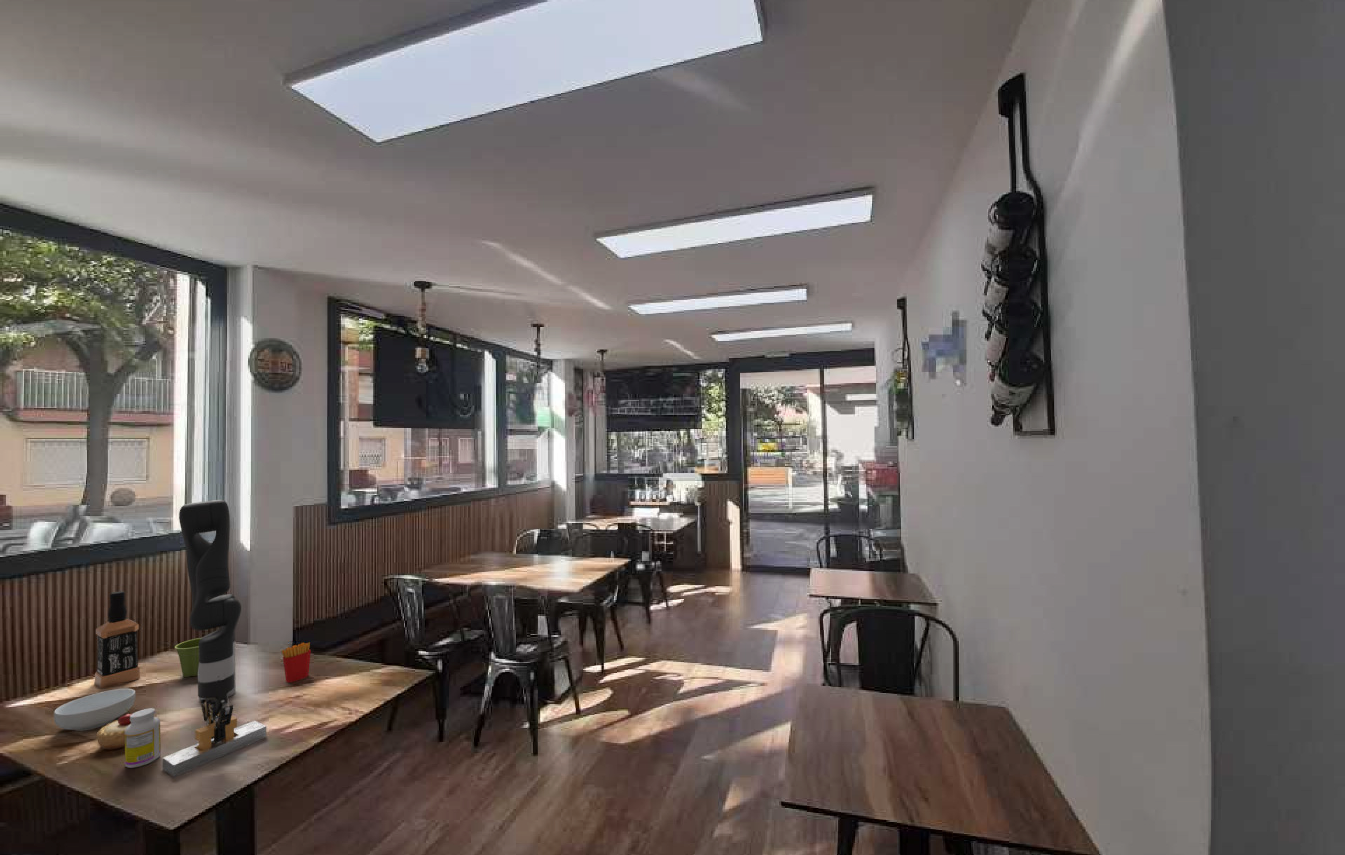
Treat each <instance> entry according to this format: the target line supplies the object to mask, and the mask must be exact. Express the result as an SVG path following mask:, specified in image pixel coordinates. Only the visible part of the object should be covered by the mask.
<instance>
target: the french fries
mask: <svg viewBox="0 0 1345 855" xmlns="http://www.w3.org/2000/svg"><path fill="white" fill-rule="evenodd" d="M310 645H311V642H307V643H305V642H300V643H299V644H298V645H297V644H295V645H292V646H291V647H289V646H288V647H286V649H282V650H281V653H282V661H283V669H284V676H285V682H287V683H293V682H297V681H300V680H302V679H305V678H307V677H308V676H309V673H310V664H311V663H310V662H311V652H312V651H311V649H310V647H311V646H310Z"/></svg>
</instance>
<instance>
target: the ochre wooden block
mask: <svg viewBox="0 0 1345 855" xmlns="http://www.w3.org/2000/svg"><path fill="white" fill-rule="evenodd" d="M222 722H223V721H222ZM237 727H238V718H237V717H236V716H233V715H232V716H231V721H230V724H228V725H225V739H224V740H222V741H227V740H229V739H231V738H234V729H235V728H237ZM194 733H195V736H194V737H195V740H196V741H198V743H199V751H203V750H205V749H207V748H210V747H211V737H214V723H212V724H209V725H207V724H206V725H205V726H202V727H200V728H197V729H195V731H194Z"/></svg>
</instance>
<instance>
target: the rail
mask: <svg viewBox="0 0 1345 855" xmlns="http://www.w3.org/2000/svg"><path fill="white" fill-rule="evenodd" d="M263 737H265V738H266V737H267V725H264V724H263V723H261V722H259V721H257V720H253V721H250V722H248V723H244V724H243V725H240V726H237V727H236V728H234V738H231V739H229V740H227V741H220V742H217V743H216V742H214V738H213V739H211V747H210V748H207V749H205V750H203V751H199V742H198V743H195V744H193V745H191V746H188V747H187V748H186V747H185V748H183V749H181V750H179V751H176V752H174V753H171V754H169V755H166V756H164V757H162V770H163V771H164V772H165V773H167V774H169V775H170V776H172V777H173V778H176V777H178V776H180V775H183V774H184V773H187V772H189V771H192V770H194V769H196V768H198V767H201V766H203V765H205V764H208V763H210V762H212V761H214V760H217V759H218V758H222V757H223V756H226V755H229V754H231V753H233V752H235V751H238V750H240V749H242V748H245V747H246V746H249V745H251V744H253V743H256V742H258V741H260V740H262V738H263ZM263 739H264V738H263ZM248 744H249V745H248Z"/></svg>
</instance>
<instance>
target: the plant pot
mask: <svg viewBox="0 0 1345 855" xmlns="http://www.w3.org/2000/svg"><path fill="white" fill-rule="evenodd" d="M201 638H202V637H199V638H194V639H193V638H192V639H189V640H185V641H183V642H180V643H178V644H176V645H175V646H174V649H175V650H176V652H177V655H178V658H179V663H180V666H181V667H180V668H181V673H182V677H184V678H189V677H198V667H199V640H200V639H201Z"/></svg>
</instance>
